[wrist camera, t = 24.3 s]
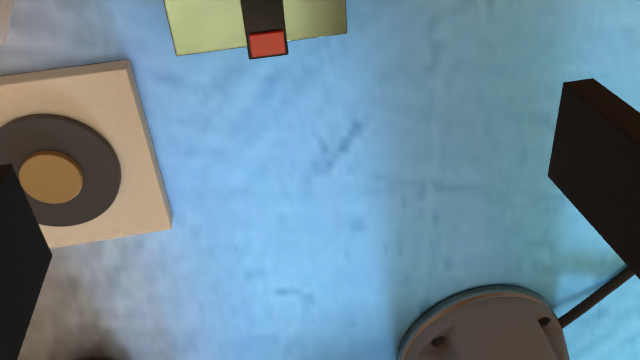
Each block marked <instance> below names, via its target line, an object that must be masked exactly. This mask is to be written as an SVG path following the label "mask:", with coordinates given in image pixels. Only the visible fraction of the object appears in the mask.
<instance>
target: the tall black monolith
mask: <svg viewBox="0 0 640 360" xmlns="http://www.w3.org/2000/svg"><path fill="white" fill-rule="evenodd" d="M240 4H241V10H242V17H243V23H244V30H245V36H246V43H247V49H248V55H249V59H258V58H266V57H273V56H281V55H288V44H287V35H286V26H285V16H284V7H283V0H240Z"/></svg>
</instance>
